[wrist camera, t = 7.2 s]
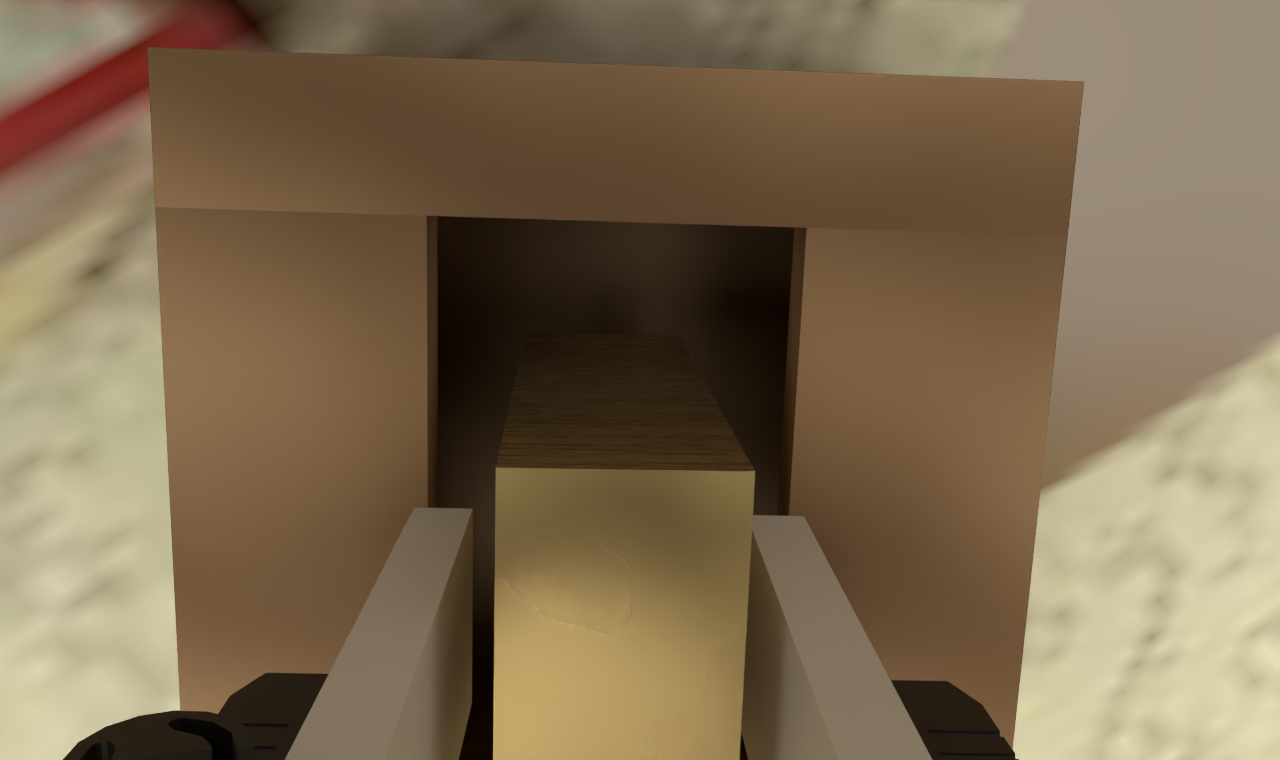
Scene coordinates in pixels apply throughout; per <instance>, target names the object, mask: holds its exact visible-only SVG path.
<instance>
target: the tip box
mask: <svg viewBox="0 0 1280 760" xmlns="http://www.w3.org/2000/svg"><path fill="white" fill-rule="evenodd" d="M147 52H148V72H149V92H150V112H151V132H152V152H153V172H154V192H155V212H156V232H157V252H158V272H159V292H160V312H161V332H162V352H163V371H164V391H165V411H166V431H167V451H168V471H169V491H170V511H171V531H172V551H173V571H174V591H175V611H176V631H177V651H178V671H179V691H180V711H208V712H211V713H215V714H218V713H219V712H220V710H221V709H222V707H223V706H224V704H225V703H226V701H227V700H228V698H229V697H230V695H232V694H233V693H235V692H237V691H238V690H240V689H241V688H243V687H244V686H246V685H247V684H249V683H251V682H252V681H254V680H255V679H257V678H258V677H260V676H261V675H263V674H265V673H313V674H329V673H330V671H331V669H332V667H333V665H334V663H335V661H336V659H337V657H338V655H339V653H340V651H341V649H342V647H343V645H344V643H345V641H346V639H347V637H348V635H349V634H350V632H351V630H352V628H353V626H354V624H355V622H356V620H357V618H358V616H359V614H360V612H361V610H362V608H363V606H364V604H365V602H366V600H367V598H368V596H369V595H370V593H371V591H372V589H373V587H374V585H375V583H376V581H377V579H378V577H379V575H380V573H381V571H382V569H383V567H384V565H385V563H386V561H387V559H388V557H389V556H390V554H391V552H392V550H393V548H394V546H395V544H396V542H397V540H398V538H399V536H400V534H401V532H402V530H403V528H404V526H405V524H406V522H407V520H408V518H409V517H410V515H411V513H412V511H413V509H414V507H419V508H463V509H473V591H472V705H471V709H470V713H469V717H468V722H467V726H466V730H465V735H464V739H463V743H462V747H461V752H460V756H459V760H493V714H494V603H495V493H496V464H497V460H498V455H499V450H500V446H501V441H502V437H503V432H504V428H505V423H506V418H507V414H508V409H509V405H510V400H511V396H512V391H513V387H514V382H515V377H516V373H517V368H518V364H519V359H520V355H521V350H522V345H523V341H524V336H525V332H538V333H581V334H624V335H667V336H679V337H680V339H681V341H682V343H683V344H684V346H685V348H686V350H687V352H688V353H689V355H690V357H691V359H692V360H693V362H694V364H695V366H696V368H697V369H698V371H699V373H700V375H701V376H702V378H703V380H704V382H705V383H706V385H707V387H708V389H709V391H710V392H711V394H712V396H713V398H714V399H715V401H716V403H717V405H718V406H719V408H720V410H721V412H722V414H723V415H724V417H725V419H726V421H727V422H728V424H729V426H730V428H731V430H732V431H733V433H734V435H735V437H736V438H737V440H738V442H739V444H740V445H741V447H742V449H743V451H744V453H745V454H746V456H747V458H748V460H749V461H750V463H751V465H752V467H753V469H754V470H755V486H754V504H753V515H770V516H804V517H805V519H806V521H807V523H808V525H809V527H810V529H811V530H812V532H813V534H814V536H815V538H816V540H817V542H818V544H819V546H820V547H821V549H822V551H823V553H824V555H825V557H826V559H827V561H828V563H829V565H830V566H831V568H832V570H833V572H834V574H835V576H836V578H837V580H838V582H839V584H840V585H841V587H842V589H843V591H844V593H845V595H846V597H847V599H848V601H849V602H850V604H851V606H852V608H853V610H854V612H855V614H856V616H857V618H858V620H859V621H860V623H861V625H862V627H863V629H864V631H865V633H866V635H867V637H868V639H869V640H870V642H871V644H872V646H873V648H874V650H875V652H876V654H877V656H878V657H879V659H880V661H881V663H882V665H883V667H884V669H885V671H886V673H887V675H888V676H889V678H890V680H917V681H948V682H950V683H951V684H953V685H954V686H956V687H957V688H959V689H960V690H962V691H963V692H965V693H966V694H967V695H969V696H970V697H972V698H973V699H975V700H976V701H978V702H979V703H981V704H982V705H983V706H984V708H985V709H986V711H987V712H988V714H989V715H990V717H991V718H992V720H993V721H994V723H995V724H996V726H997V727H998V729H999V730H1000V737H1004V738H1005V739H1006V741H1007V742H1008V744H1009V745H1010V747H1011V748H1013V739H1014V730H1015V720H1016V711H1017V702H1018V693H1019V683H1020V674H1021V665H1022V655H1023V646H1024V637H1025V627H1026V618H1027V609H1028V599H1029V590H1030V581H1031V572H1032V562H1033V553H1034V544H1035V534H1036V525H1037V516H1038V506H1039V497H1040V488H1041V478H1042V468H1043V460H1044V451H1045V441H1046V432H1047V422H1048V413H1049V403H1050V395H1051V384H1052V376H1053V367H1054V357H1055V348H1056V339H1057V330H1058V320H1059V311H1060V301H1061V292H1062V282H1063V274H1064V264H1065V255H1066V245H1067V236H1068V227H1069V218H1070V209H1071V199H1072V189H1073V180H1074V171H1075V162H1076V153H1077V143H1078V134H1079V125H1080V115H1081V106H1082V96H1083V87H1084V82H1081V81H1055V80H1028V79H1000V78H973V77H946V76H918V75H891V74H864V73H837V72H809V71H782V70H755V69H728V68H700V67H673V66H646V65H618V64H591V63H564V62H537V61H509V60H482V59H455V58H428V57H400V56H373V55H346V54H318V53H291V52H264V51H237V50H209V49H182V48H155V47H147ZM739 760H748V757H747V752H746V748H745V744H744V739H743V735H742V731H741V740H740V758H739Z"/></svg>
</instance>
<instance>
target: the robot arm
mask: <svg viewBox="0 0 1280 760" xmlns="http://www.w3.org/2000/svg"><path fill="white" fill-rule="evenodd" d="M472 591H473V509H463V508H419V507H414V509H413V511H412V513H411V515H410V517H409V518H408V520H407V522H406V524H405V526H404V528H403V530H402V532H401V534H400V536H399V538H398V540H397V542H396V544H395V546H394V548H393V550H392V552H391V554H390V556H389V557H388V559H387V561H386V563H385V565H384V567H383V569H382V571H381V573H380V575H379V577H378V579H377V581H376V583H375V585H374V587H373V589H372V591H371V593H370V595H369V596H368V598H367V600H366V602H365V604H364V606H363V608H362V610H361V612H360V614H359V616H358V618H357V620H356V622H355V624H354V626H353V628H352V630H351V632H350V634H349V635H348V637H347V639H346V641H345V643H344V645H343V647H342V649H341V651H340V653H339V655H338V657H337V659H336V661H335V663H334V665H333V667H332V669H331V671H330V673H329V674H313V673H265V674H263V675H261V676H260V677H258V678H257V679H255V680H254V681H252V682H251V683H249V684H247V685H246V686H244V687H243V688H241V689H240V690H238V691H237V692H235V693H233V694H232V695H230V697H229V698H228V700H227V701H226V703H225V704H224V706H223V707H222V709H221V710H220V712H219V713H218V714H215V713H211V712H208V711H169V712H163V713H156V714H149V715H143V716H138V717H135V718H132V719H129V720H125V721H122V722H119V723H116V724H113V725H110V726H107V727H105V728H103V729H101V730H99V731H98V732H96V733H94V734H92V735H91V736H89V737H87V738H85V739H84V740H82V741H80V742H78V743H77V745H76V746H75V747H74V748H73V749H72V750H71V751H70V752H69V753H68V755H67V756H66V757H65V758H64V759H63V760H459V756H460V752H461V747H462V743H463V739H464V735H465V730H466V726H467V722H468V717H469V713H470V709H471V705H472ZM741 731H742V735H743V739H744V744H745V748H746V752H747V757H748V760H1019V759H1015V753H1014V751H1013V750H1012V748H1011V747H1010V745H1009V744H1008V742H1007V741H1006V739H1005V738H1004V737H1000V730H999V729H998V727H997V726H996V724H995V723H994V721H993V720H992V718H991V717H990V715H989V714H988V712H987V711H986V709H985V708H984V706H983V705H982V704H981V703H979V702H978V701H976V700H975V699H973V698H972V697H970V696H969V695H967V694H966V693H965V692H963V691H962V690H960V689H959V688H957V687H956V686H954V685H953V684H951V683H950V682H948V681H917V680H890V678H889V676H888V675H887V673H886V671H885V669H884V667H883V665H882V663H881V661H880V659H879V657H878V656H877V654H876V652H875V650H874V648H873V646H872V644H871V642H870V640H869V639H868V637H867V635H866V633H865V631H864V629H863V627H862V625H861V623H860V621H859V620H858V618H857V616H856V614H855V612H854V610H853V608H852V606H851V604H850V602H849V601H848V599H847V597H846V595H845V593H844V591H843V589H842V587H841V585H840V584H839V582H838V580H837V578H836V576H835V574H834V572H833V570H832V568H831V566H830V565H829V563H828V561H827V559H826V557H825V555H824V553H823V551H822V549H821V547H820V546H819V544H818V542H817V540H816V538H815V536H814V534H813V532H812V530H811V529H810V527H809V525H808V523H807V521H806V519H805V517H804V516H770V515H753V522H752V540H751V559H750V577H749V595H748V613H747V631H746V649H745V667H744V685H743V703H742V722H741Z"/></svg>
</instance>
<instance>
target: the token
mask: <svg viewBox="0 0 1280 760" xmlns="http://www.w3.org/2000/svg"><path fill="white" fill-rule="evenodd" d="M754 486H755V470H754V469H753V467H752V465H751V463H750V461H749V460H748V458H747V456H746V454H745V453H744V451H743V449H742V447H741V445H740V444H739V442H738V440H737V438H736V437H735V435H734V433H733V431H732V430H731V428H730V426H729V424H728V422H727V421H726V419H725V417H724V415H723V414H722V412H721V410H720V408H719V406H718V405H717V403H716V401H715V399H714V398H713V396H712V394H711V392H710V391H709V389H708V387H707V385H706V383H705V382H704V380H703V378H702V376H701V375H700V373H699V371H698V369H697V368H696V366H695V364H694V362H693V360H692V359H691V357H690V355H689V353H688V352H687V350H686V348H685V346H684V344H683V343H682V341H681V339H680V337H679V336H667V335H624V334H581V333H538V332H525V336H524V341H523V345H522V350H521V355H520V359H519V364H518V368H517V373H516V377H515V382H514V387H513V391H512V396H511V400H510V405H509V409H508V414H507V418H506V423H505V428H504V432H503V437H502V441H501V446H500V450H499V455H498V460H497V464H496V493H495V603H494V714H493V760H739V758H740V740H741V722H742V703H743V685H744V667H745V649H746V631H747V613H748V595H749V577H750V559H751V540H752V522H753V504H754Z"/></svg>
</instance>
